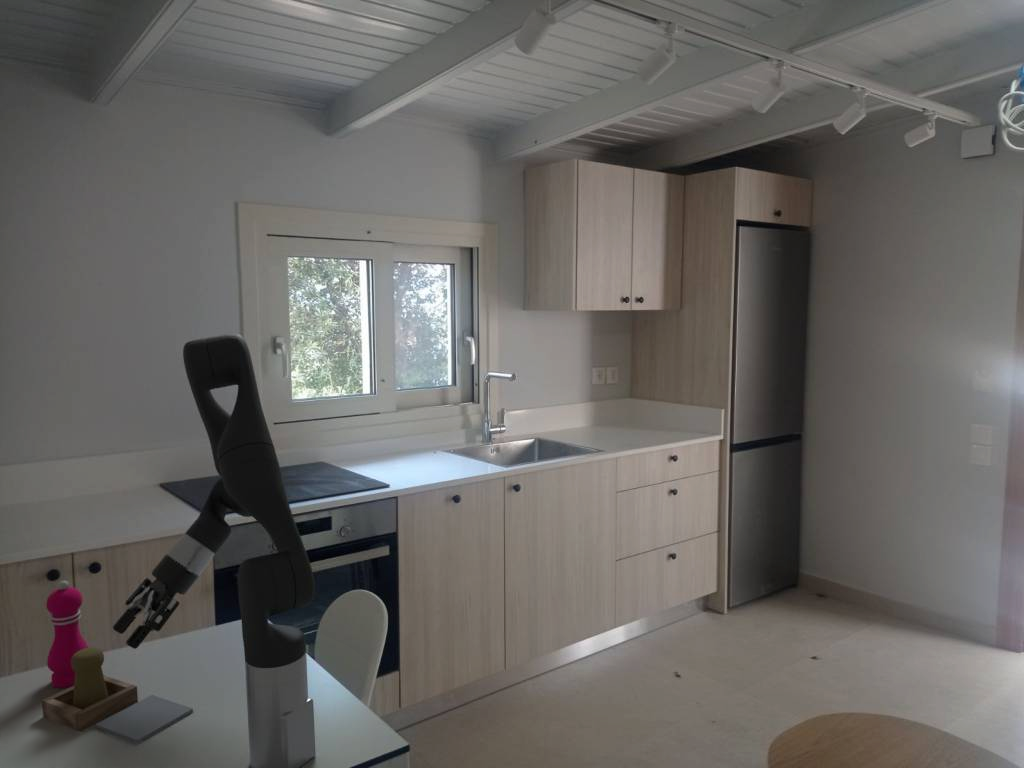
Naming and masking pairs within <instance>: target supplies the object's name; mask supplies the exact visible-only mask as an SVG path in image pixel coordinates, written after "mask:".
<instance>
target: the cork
mask: <svg viewBox="0 0 1024 768" xmlns="http://www.w3.org/2000/svg"><path fill="white" fill-rule="evenodd" d="M104 661H105V653H104V651H103V650H102V649H101V648H98V647H93V646H92V647H89V648H85V649H82V650H80V651H78V652H76V653H75V654H74V655H73V657H72V659H71V667H72V669H73V670H74V671H75V681H74V695H73V707H76V708H79V709H81V710H83V709H85V708H87V707H89V706H91V705H93V704H95V703H97V702H99V701H101V700H103V699H105V698H107V697H108V693H107V689H106V685H105V680H104V676H103V675H104V672H103V669H102V666H103V663H104Z"/></svg>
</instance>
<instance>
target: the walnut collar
mask: <svg viewBox="0 0 1024 768" xmlns="http://www.w3.org/2000/svg"><path fill="white" fill-rule="evenodd" d="M103 676H104V680H105V685H106V689H107V693H108V697H107V698H105V699H103V700H101V701H99V702H97V703H95V704H93V705H91V706H89V707H87V708H85V709H83V710H81V709H79V708H76V707H73V695H74V686H71V687H67V688H66V689H63V690H61V691H60V692H57V693H55V694H53V695H51V696H49V697H46V698H44V699H42V700H41V706H42V717H43V718H46V719H49V720H51V721H53V722H56V723H59V724H62V725H63V726H66V727H69V728H70V729H74V730H76V731H78V732H83V731H85V730H87V729H88V728H91V727H93V726H94V725H95V724H97V723H99V722H101V721H103V720H105V719H106V718H108V717H110V716H112V715H114V714H116V713H118V712H120V711H122V710H124V709H126V708H128V707H129V706H131V705H133V704H135V703H137V702H139V697H138V696H139V695H138V686H137V685H135V684H131V683H129V682H125V681H122V680H119V679H116V678H113V677H111V676H107V675H104V674H103ZM95 726H96V725H95Z"/></svg>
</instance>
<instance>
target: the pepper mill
mask: <svg viewBox="0 0 1024 768" xmlns="http://www.w3.org/2000/svg"><path fill="white" fill-rule="evenodd" d="M69 584H70V583H69V582H68V581H67V580H61V581H59V583H58V584H57V587H58V589H56V590H53V591H52V592H51V593H50V594H49V596H48V597H47V599H46V603H45V605H46V609H47V611H48V613H50V614H51V615H50V619H51V620H50V624H51V625H52V626H53V628H54V638H53V641H52V645H51V647H50V649H49V652H48V656H47V658H46V659H47V661H46V662H47V663H46V665H47V667H48V670H50V671H51V672H52V674H51V685H52V687H54V688H58V689H64V688H70V687H72V686H74V681H75V671H74V670H73V669H72V667H71V659H72V657H73V655H74V654H75V653H76V652H78V651H80V650H82V649H85V648H90V647H89V645H88V643H87V642H86V641H85V639H84V638H83V636H82V634H81V630H80V627H79V620H80V619H81V617H82V615H81V613H82V612H81V611H82V610H81V609H79V608H81V606H82V604H83V595H82V593H81V591H80V590H79V589H77V588H75V587H71V586H69Z"/></svg>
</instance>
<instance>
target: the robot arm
mask: <svg viewBox="0 0 1024 768" xmlns="http://www.w3.org/2000/svg"><path fill="white" fill-rule="evenodd" d="M183 345H184V346H183V349H182V357H183V358H182V359H183V365H184V369H185V373H186V377H187V380H188V383H189V386H190V389H191V393H192V395H193V399H194V401H195V405H196V408H197V410H198V413H199V415H200V418H201V420H202V423H203V426H204V428H205V431H206V434H207V436H208V439H209V440H208V441H209V444H210V448H211V453H212V458H213V462H214V467H215V469H216V472H217V474H218V475H219V476H220V477H218V479H217V480H216V481H215V483H213V485H212V488H211V490H210V492H209V494H208V496H207V498H206V501H205V502H204V504H203V507H202V509H201V510H200V514H199V515H198V517H197V518H196V520H194V522H193V523H192V524H191V526H189V528H188V529H187V531H185V533H184V534H183V535H182V536H181V537H179V539H178V540H176V542H175V543H174V544H173V545H172V546H171V548H170V549H169V550H168V551H167V553H165V555H164V556H163V557H162V558H161V560H160V561H159V562H158V563H157V564H156V566H155V567H154V568H153V570H152V571H151V575H152V576H153V578H155V579H154V580H152V579H150V578H148V577H146V578H145V579H144V580H143V581H142V582H141V583H140V585H138V587H137V588H136V589H135V590H134V591H133V593H132V594H131V595H130V597H128V599H127V600H126V601H125V604H124V605H126V607H125V611H124V612H123V614H122V615H121V616H120V617H119V618H118V619H117V621H116V622H115V624H114V625H112V629H113V630H114V631H115V632H117V633H119V634H120V635H121V634H124V633H125V632H126V631H127V629H128V628H129V627H130V626H131V624H132V623H133V622H134V621H135V619H136V618H137V616H139V615H141V614H142V613H143V615H144V616H143V618H142V620H141V622H140V624H139V625H138V626H137V627H136V628H135V630H134V631H133V632H132V633H131V635H129V637H128V638H127V640H126V641H125V645H127V646H129V647H130V648H132V649H134V650H135V649H137V648H139V646H140V645H141V643H143V641H144V640H145V639H146V637H147V636H148V635H149V634H150V633H151V632H154V631H156V632H159V631H160V630H161V629H162V628H163V626H165V624H166V623H167V622H168V620H169V619H170V617H171V616H172V615H173V613H174V612H175V611H176V609H177V608H178V607H179V605H180V602H179V601H178V600H176V599H175V597H176V594H179V595H185V594H187V593H188V591H189V590H190V588H191V587H192V586H193V585H194V583H195V582H196V581H197V580H198V579H199V577H200V576H201V575H202V574H203V572H204V571H205V570H206V568H207V567H208V566H209V564H210V563H211V562H212V559H213V558H214V556H215V554H217V552H218V551H219V550H220V548H222V546H223V545H224V543H225V542H226V541H227V540H228V538H229V537H230V536H231V533H232V527H231V526H230V525H229V523H228V522H227V521H226V519H225V517H226V515H227V512H228V510H230V511H232V512H234V513H235V514H237V515H239V516H241V517H243V518H244V517H245V518H251V517H252V518H253V519H254V520H255V521H257V522H258V523H259V524H260V525H261V526H262V527H263V529H264V530H265V531H266V532H267V534H268V535H269V537H270V538H271V541H272V543H273V544H274V547H275V548H276V549H275V550H276V552H275V553H269V554H268V553H267V554H264V555H259V556H256V557H255V556H254V557H250V558H246V559H245V560H243V561H242V562H241V563H240V565H239V568H238V570H237V575H236V576H237V593H238V602H239V611H240V620H241V632H242V642H243V649H244V650H243V651H244V666H245V688H246V689H245V690H246V709H247V722H248V723H247V724H248V725H247V726H248V729H247V730H248V745H249V762H250V763H249V764H250V768H301V767H302V766H304V765H305V764H307V762H309V761H310V760H311V759H313V757H315V756H316V752H317V751H316V735H315V733H316V732H315V729H316V728H315V710H314V707H315V706H314V699H313V698H310V697H309V693H308V692H309V688H308V687H309V686H308V683H309V682H308V666H307V665H308V663H307V662H308V660H307V645H306V644H307V640H306V639H307V638H306V636H305V633H304V632H303V631H302V630H301V629H299V628H297V627H295V626H291V625H284V624H283V625H282V624H274V623H270V622H269V617H272V616H275V615H278V614H283V613H287V612H292V611H295V610H299V609H303V608H305V607H307V606H309V605H311V604H312V602H313V601H314V598H315V594H316V585H315V578H314V572H313V568H312V565H311V562H310V559H309V557H308V553H307V549H306V548H305V545H304V543H303V540H302V539H303V538H301V535H300V532H299V530H298V529H299V528H298V527H297V524H296V521H295V518H294V515H293V513H292V509H291V506H290V503H289V499H288V495H287V492H286V487H285V483H284V480H283V475H282V472H281V467H280V463H279V459H278V457H277V456H278V455H277V453H276V452H277V451H276V449H275V446H274V442H273V439H272V437H271V436H272V435H271V434H270V430H269V428H268V423H267V420H266V417H265V414H264V410H263V407H262V403H261V398H260V393H259V388H258V384H257V380H256V375H255V369H254V364H253V361H252V357H251V352H250V348H249V346H248V343H247V342H246V340H245V338H244V337H243V336H242V335H241V334H238V333H226V334H221V335H214V336H210V337H205V338H204V337H203V338H198V339H193V340H190V341H189V340H188V341H187V342H186V343H184V344H183ZM232 386H237V395H236V400H235V404H234V407H233V410H232V412H231V414H230V413H229V412H228V411H227V410H226V409H224V408H223V407H222V405H221V404H219V403H218V401H217V400H216V399H215V397H214V396H213V394H212V391H211V390H215V389H221V388H227V387H232Z"/></svg>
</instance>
